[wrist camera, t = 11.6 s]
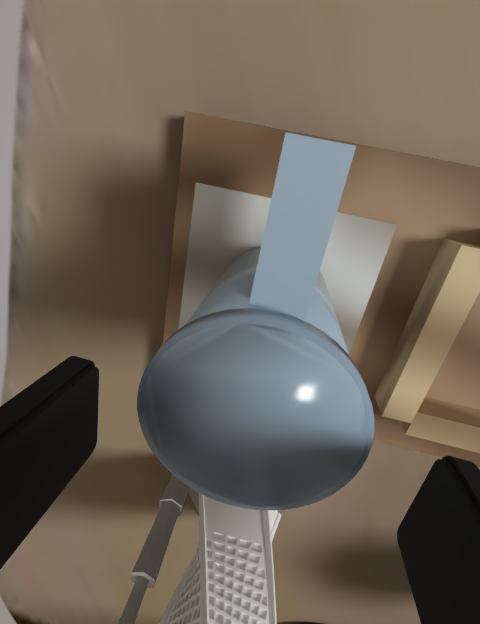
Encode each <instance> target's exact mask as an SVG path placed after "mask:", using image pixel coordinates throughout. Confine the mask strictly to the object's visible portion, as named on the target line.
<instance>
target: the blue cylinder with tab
mask: <svg viewBox="0 0 480 624" xmlns="http://www.w3.org/2000/svg"><path fill="white" fill-rule="evenodd" d="M355 149H356V146H354V145H349V144H344V143H339V142H334V141H328V140H323V139H318V138H313V137H308V136H303V135H297V134H292V133H287V132H286V133H285V137H284V142H283V147H282V151H281V156H280V161H279V165H278V170H277V175H276V179H275V184H274V189H273V193H272V198H271V203H270V208H269V212H268V217H267V222H266V226H265V231H264V236H263V240H262V245H261V247H258V248H254V249H252V250H249V251H247V252H245V253H244V254H242V255H241V256H239V257H238V258H237V259H235V260H234V261H233V262H232V263H231V264H230V266H229V267H228V268H227V270H226V271H225V272H224V274H223V275H222V276H221V278H220V279H219V280H218V282H217V283H216V284H215V286H214V287H213V288H212V290H211V291H210V292H209V294H208V295H207V296H206V298H205V299H204V300H203V301H202V303H201V304H200V305H199V307H198V308H197V309H196V311H195V312H194V313H193V315H192V316H191V317H190V319H189V320H188V321H187V323H186V324H185V325H184V326H183V327H181V328H180V329H179V330H177V331H176V332H175V333H174V334H172V335H171V336H170V337H169V338H168V339H167V340H166V341H165V342H164V344H163V345H162V346H161V347H160V349H159V350H158V351H157V353H156V354H155V355H154V357H153V358H152V359H151V361H150V362H149V363H148V365H147V367H146V369H145V371H144V373H143V376H142V379H141V382H140V385H139V390H138V397H137V410H138V416H139V422H140V425H141V428H142V432H143V434H144V436H145V439H146V441H147V443H148V445H149V446H150V448H151V450H152V451H153V453H154V454H155V456H156V457H157V458H158V460H159V461H160V462H161V463H162V465H163V466H164V467H165V468H166V469H167V470H168V471H169V472H170V473H171V474H173V475H174V476H175V477H176V478H177V479H179V480H180V481H181V482H183V483H184V484H186V485H187V486H189V487H190V488H192V489H193V490H195V491H197V492H199V493H201V494H202V495H204V496H207V497H209V498H211V499H214V500H216V501H219V502H222V503H225V504H228V505H232V506H236V507H241V508H246V509H254V510H285V509H292V508H298V507H302V506H305V505H309V504H312V503H315V502H317V501H320V500H322V499H324V498H326V497H328V496H330V495H332V494H334V493H335V492H337V491H338V490H340V489H341V488H342V487H344V486H345V485H346V484H347V483H348V482H349V481H350V480H351V479H353V478H354V476H355V475H356V474H357V473H358V471H359V470H360V469H361V468H362V466H363V464H364V462H365V461H366V459H367V457H368V454H369V452H370V449H371V446H372V442H373V437H374V413H373V407H372V403H371V400H370V397H369V394H368V391H367V389H366V386H365V383H364V380H363V377H362V376H361V374H360V372H359V370H358V368H357V366H356V364H355V363H354V362H353V360H352V359H351V358H350V356H349V353H348V350H347V347H346V344H345V341H344V338H343V335H342V332H341V329H340V326H339V323H338V319H337V316H336V313H335V310H334V307H333V304H332V301H331V298H330V295H329V292H328V289H327V286H326V283H325V280H324V277H323V276H322V274H321V272H320V268H321V264H322V261H323V257H324V254H325V251H326V247H327V244H328V240H329V237H330V234H331V230H332V227H333V224H334V220H335V217H336V213H337V210H338V207H339V203H340V200H341V196H342V193H343V190H344V186H345V183H346V180H347V176H348V173H349V169H350V166H351V163H352V159H353V156H354V152H355Z"/></svg>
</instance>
